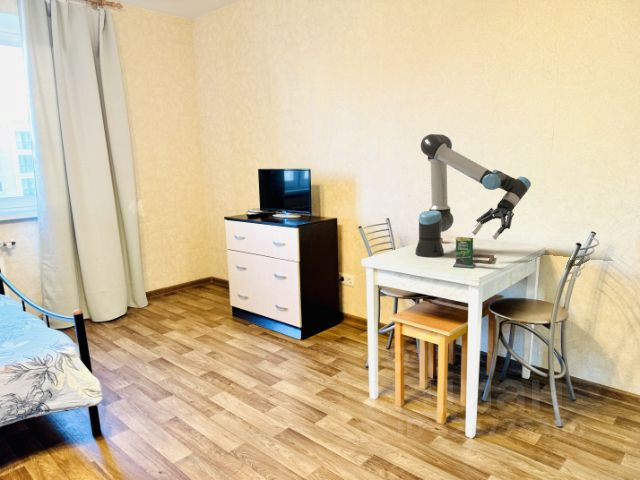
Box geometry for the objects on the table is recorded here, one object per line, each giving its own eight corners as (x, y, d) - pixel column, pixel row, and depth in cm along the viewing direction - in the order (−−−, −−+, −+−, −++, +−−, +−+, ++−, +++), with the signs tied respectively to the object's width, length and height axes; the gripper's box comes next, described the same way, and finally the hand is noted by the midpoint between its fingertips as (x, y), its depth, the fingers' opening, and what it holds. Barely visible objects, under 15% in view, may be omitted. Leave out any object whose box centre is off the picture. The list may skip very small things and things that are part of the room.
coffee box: (454, 263, 217) (455, 237, 215) (457, 262, 219) (458, 236, 217) (470, 265, 211) (471, 238, 209) (473, 264, 213) (473, 237, 211)
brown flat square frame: (461, 262, 223) (462, 259, 222) (465, 255, 236) (465, 253, 236) (491, 264, 217) (491, 261, 216) (493, 257, 230) (494, 254, 230)
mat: (453, 267, 213) (453, 265, 213) (455, 263, 221) (456, 261, 221) (472, 268, 209) (472, 266, 209) (474, 264, 217) (474, 262, 217)
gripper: (532, 211, 211) (507, 244, 207) (492, 206, 233) (469, 236, 230) (525, 200, 207) (499, 234, 204) (485, 196, 230) (461, 227, 227)
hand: (483, 235), depth 217 cm, fingers open, 13 cm apart
